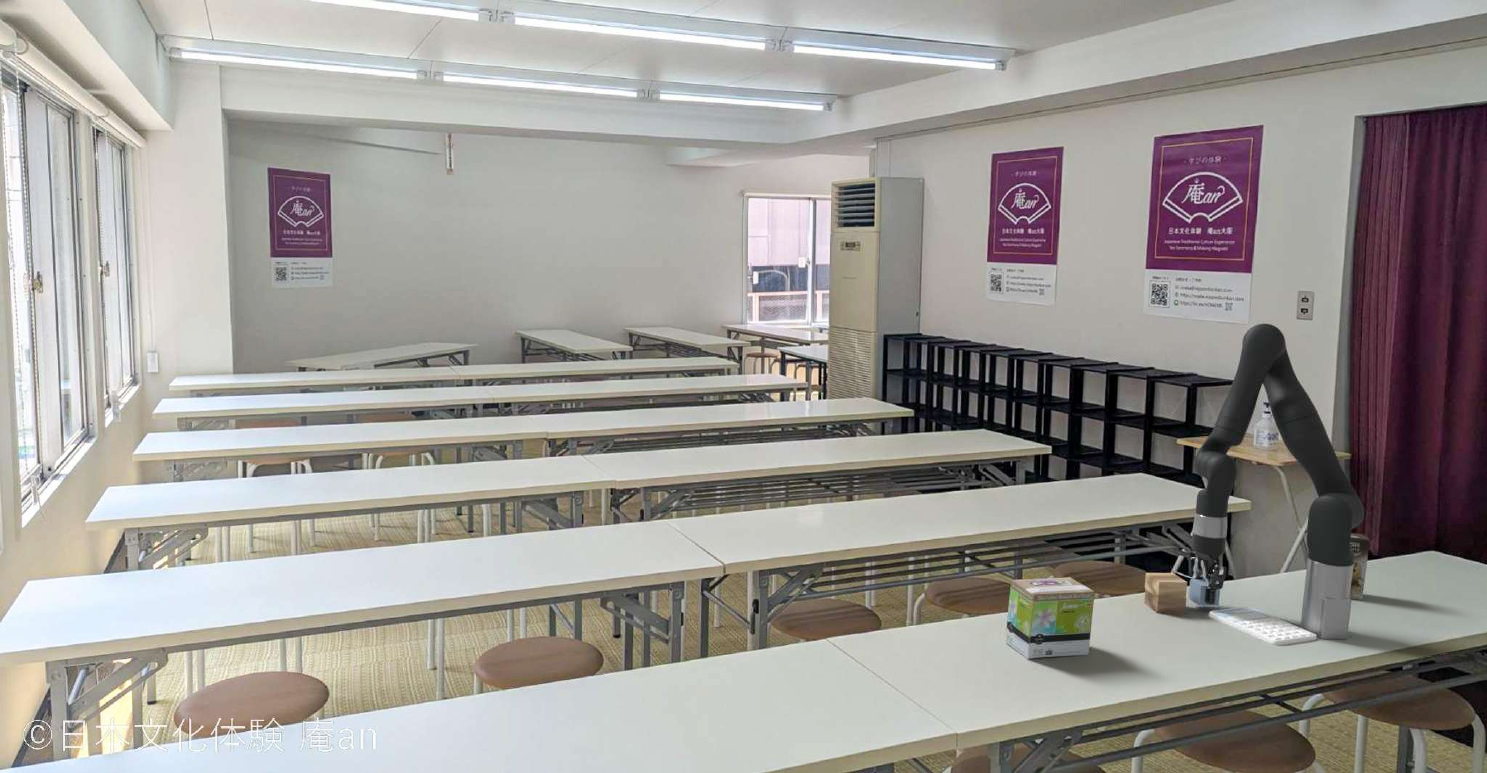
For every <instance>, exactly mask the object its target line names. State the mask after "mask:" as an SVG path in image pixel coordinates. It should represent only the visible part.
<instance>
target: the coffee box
mask: <svg viewBox="0 0 1487 773" xmlns="http://www.w3.org/2000/svg"><path fill="white" fill-rule="evenodd" d="M1370 543H1371V541H1370V539H1369V538H1368V537H1367V536H1366V535H1364V534H1363V533H1354V532H1353V533H1352V532H1351V540H1350V548H1351V550H1352V551H1353V552H1354V564H1353V572H1352V580H1351V589H1350V597H1349V598H1350V599H1351V600H1358V601H1359V600H1360V601H1362V600H1363V596H1364V588H1365V582H1366V572H1367V564H1368V559H1369V558H1368V557H1369V549H1370Z"/></svg>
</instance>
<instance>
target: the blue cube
mask: <svg viewBox="0 0 1487 773" xmlns="http://www.w3.org/2000/svg"><path fill="white" fill-rule="evenodd" d="M1211 580H1212V579H1210V584H1211ZM1188 591H1189V592H1188V599H1189V600H1190V601H1191V602H1193V603H1194V604H1196V605H1197V606H1203V607H1204V606H1206V607H1207V606H1216V607H1217V606H1220V595H1221V589H1217V590H1216V596H1215V603H1214V604H1207V603H1205V595H1206V580H1205V579H1193V578H1191V579H1190V580H1189V590H1188Z"/></svg>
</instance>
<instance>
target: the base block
mask: <svg viewBox="0 0 1487 773" xmlns="http://www.w3.org/2000/svg"><path fill="white" fill-rule="evenodd" d="M1144 591H1145V593H1144V604H1145V605H1146V606H1148V607H1149V609H1151V610H1152V611H1154V612H1155V613H1156V614H1186V607H1187V597H1186V598H1157V597H1156V596H1154V595H1153V594H1152V593H1150V592H1149V591H1148V590H1146V589H1145V590H1144Z"/></svg>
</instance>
